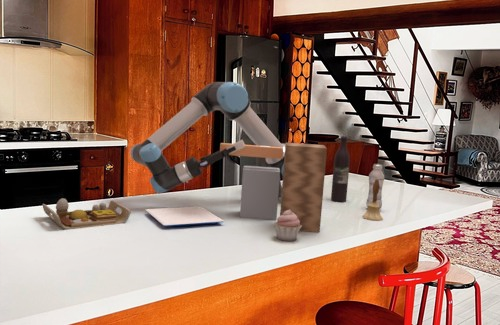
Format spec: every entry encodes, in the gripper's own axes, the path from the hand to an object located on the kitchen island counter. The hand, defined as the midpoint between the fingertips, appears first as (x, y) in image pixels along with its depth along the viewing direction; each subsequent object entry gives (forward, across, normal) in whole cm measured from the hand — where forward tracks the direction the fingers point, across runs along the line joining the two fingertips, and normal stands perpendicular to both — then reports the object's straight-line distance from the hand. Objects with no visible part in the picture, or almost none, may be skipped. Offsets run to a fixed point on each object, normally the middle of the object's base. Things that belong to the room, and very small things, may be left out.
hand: (243, 143), depth 195 cm
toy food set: (-59, +23, +1) cm, 64 cm away
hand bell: (+33, -9, -51) cm, 62 cm away
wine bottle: (+25, -39, -46) cm, 66 cm away
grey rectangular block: (-7, 0, -28) cm, 29 cm away
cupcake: (+1, +29, -33) cm, 44 cm away
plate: (-31, +14, -15) cm, 37 cm away
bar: (+1, 0, -6) cm, 6 cm away
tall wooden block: (+6, +13, -35) cm, 38 cm away
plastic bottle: (+36, -25, -53) cm, 69 cm away
